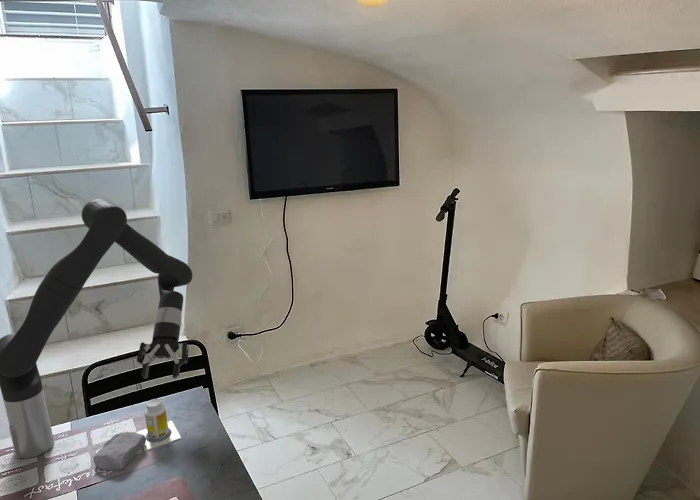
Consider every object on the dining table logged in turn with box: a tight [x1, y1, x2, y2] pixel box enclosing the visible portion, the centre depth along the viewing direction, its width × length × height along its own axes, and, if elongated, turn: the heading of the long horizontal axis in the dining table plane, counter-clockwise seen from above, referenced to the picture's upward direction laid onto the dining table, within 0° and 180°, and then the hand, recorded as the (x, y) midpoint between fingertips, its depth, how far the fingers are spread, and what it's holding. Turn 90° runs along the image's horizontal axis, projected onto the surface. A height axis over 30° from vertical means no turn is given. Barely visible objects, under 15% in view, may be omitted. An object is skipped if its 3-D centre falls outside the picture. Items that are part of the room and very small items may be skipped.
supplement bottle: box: [144, 398, 168, 439], centre depth 151 cm, size 6×6×10 cm
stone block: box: [92, 431, 146, 471], centre depth 143 cm, size 12×5×10 cm
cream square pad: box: [136, 420, 182, 452], centre depth 152 cm, size 10×10×1 cm
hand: (159, 378), depth 155 cm, fingers open, 8 cm apart
